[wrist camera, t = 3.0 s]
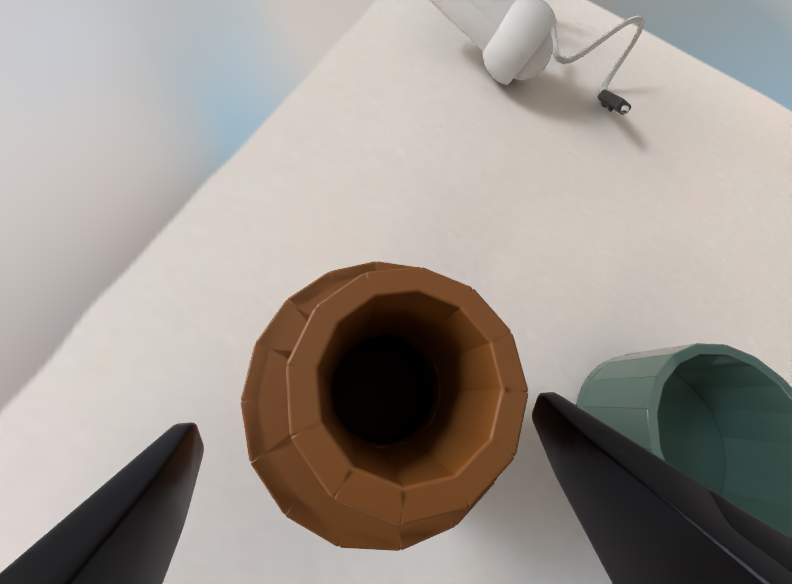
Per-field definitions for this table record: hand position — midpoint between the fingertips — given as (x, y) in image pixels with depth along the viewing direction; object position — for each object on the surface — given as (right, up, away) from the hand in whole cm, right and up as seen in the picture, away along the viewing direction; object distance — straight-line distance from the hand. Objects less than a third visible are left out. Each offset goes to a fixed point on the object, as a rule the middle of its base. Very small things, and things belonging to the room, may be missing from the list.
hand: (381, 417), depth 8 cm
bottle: (-1, -2, +8) cm, 8 cm away
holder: (+15, -5, +9) cm, 18 cm away
